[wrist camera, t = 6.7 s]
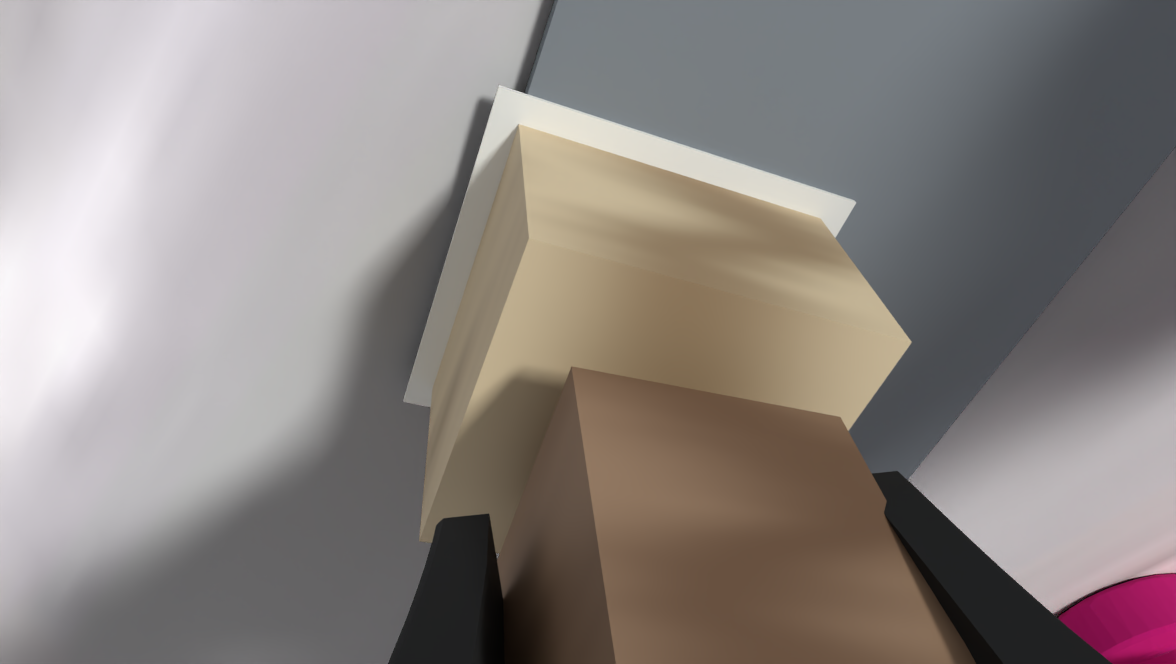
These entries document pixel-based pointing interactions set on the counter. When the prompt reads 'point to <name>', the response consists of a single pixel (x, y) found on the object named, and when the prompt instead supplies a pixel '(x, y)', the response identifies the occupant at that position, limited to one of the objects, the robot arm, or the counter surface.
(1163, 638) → the pepper mill
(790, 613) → the walnut block
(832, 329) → the oak base
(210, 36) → the counter surface
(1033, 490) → the counter surface
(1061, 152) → the slate mat
